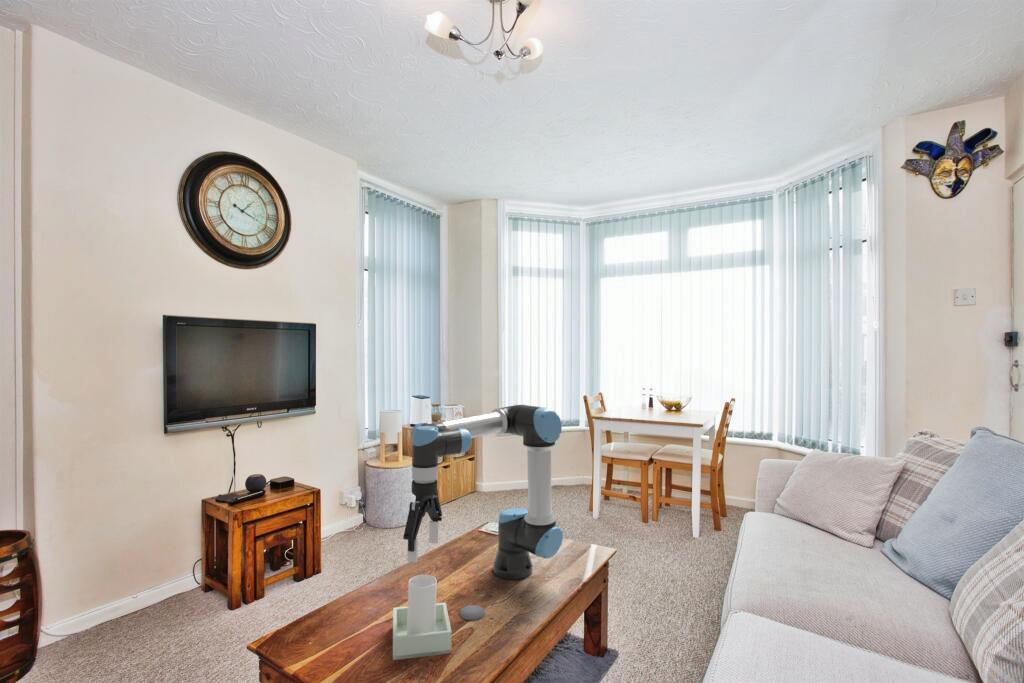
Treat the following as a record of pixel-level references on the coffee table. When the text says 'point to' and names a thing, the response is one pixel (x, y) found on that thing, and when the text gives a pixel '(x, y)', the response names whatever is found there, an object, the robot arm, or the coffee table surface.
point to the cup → (421, 604)
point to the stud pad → (472, 612)
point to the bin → (421, 635)
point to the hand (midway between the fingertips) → (423, 551)
